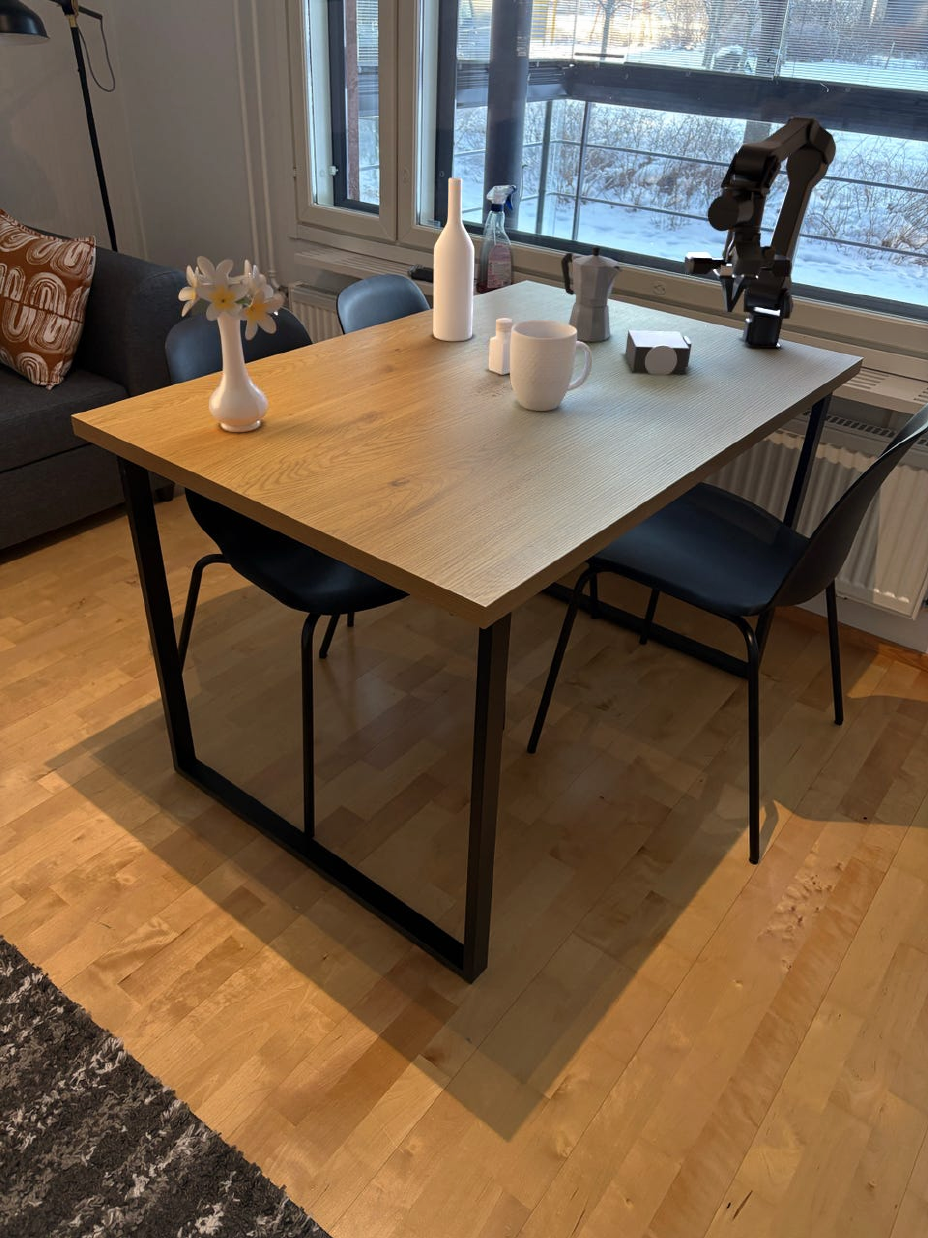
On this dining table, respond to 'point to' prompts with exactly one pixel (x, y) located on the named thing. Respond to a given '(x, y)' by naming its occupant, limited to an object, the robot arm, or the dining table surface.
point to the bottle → (453, 273)
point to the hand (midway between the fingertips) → (728, 311)
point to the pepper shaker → (501, 347)
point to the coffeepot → (590, 293)
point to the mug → (544, 363)
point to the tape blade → (688, 346)
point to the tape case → (656, 352)
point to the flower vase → (234, 336)
